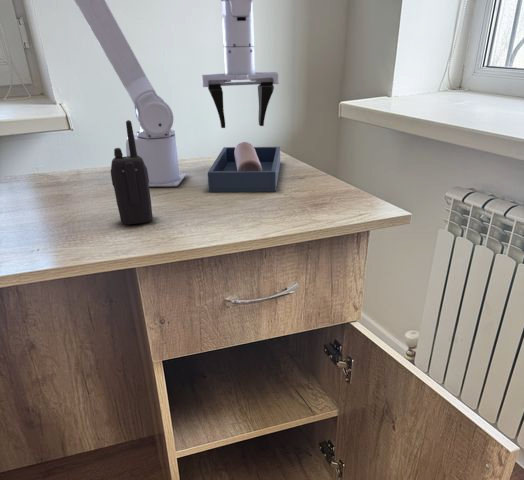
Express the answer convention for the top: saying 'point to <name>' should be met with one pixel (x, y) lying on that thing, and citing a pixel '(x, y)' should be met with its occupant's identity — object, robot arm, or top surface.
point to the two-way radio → (131, 184)
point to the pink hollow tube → (246, 158)
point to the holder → (245, 172)
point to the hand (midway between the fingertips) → (242, 126)
